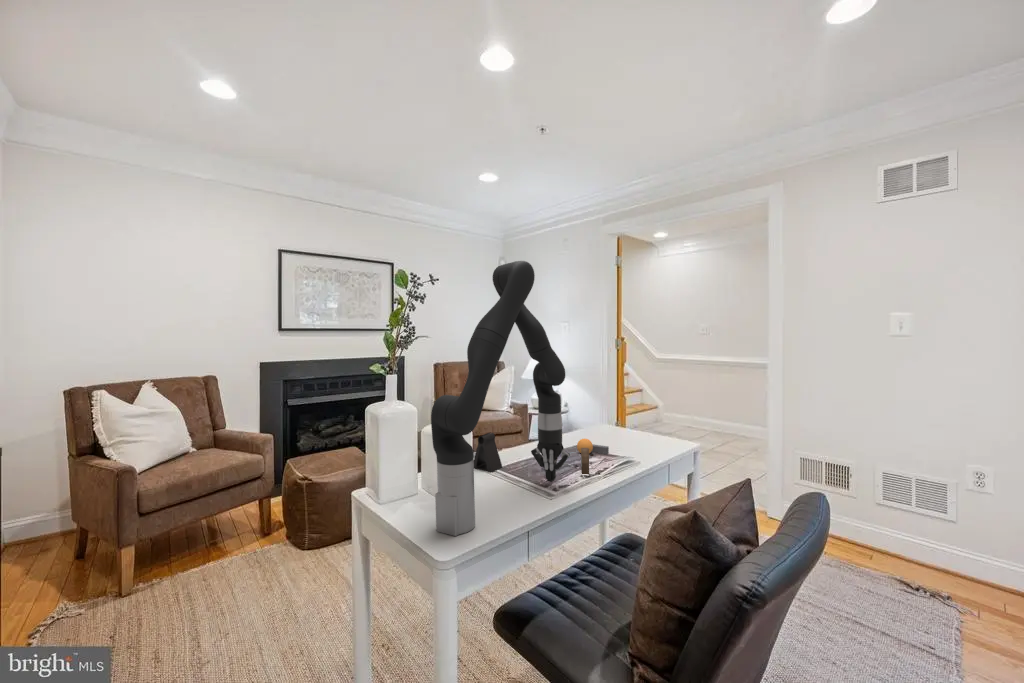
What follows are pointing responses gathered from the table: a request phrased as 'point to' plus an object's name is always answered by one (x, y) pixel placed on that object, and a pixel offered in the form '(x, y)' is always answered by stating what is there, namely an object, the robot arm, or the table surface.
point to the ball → (584, 445)
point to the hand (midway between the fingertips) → (550, 481)
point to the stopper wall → (600, 449)
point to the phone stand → (487, 454)
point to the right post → (585, 460)
